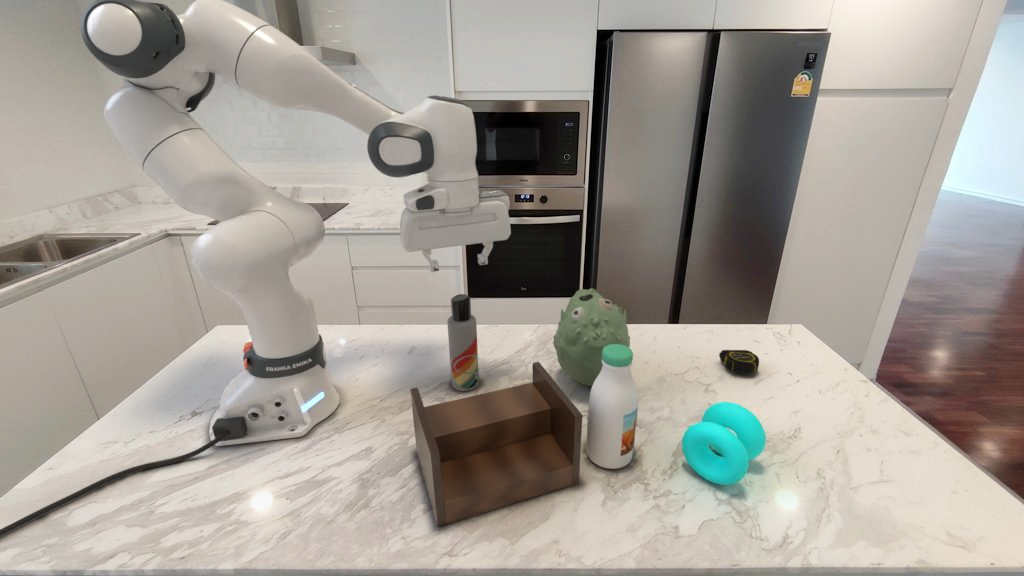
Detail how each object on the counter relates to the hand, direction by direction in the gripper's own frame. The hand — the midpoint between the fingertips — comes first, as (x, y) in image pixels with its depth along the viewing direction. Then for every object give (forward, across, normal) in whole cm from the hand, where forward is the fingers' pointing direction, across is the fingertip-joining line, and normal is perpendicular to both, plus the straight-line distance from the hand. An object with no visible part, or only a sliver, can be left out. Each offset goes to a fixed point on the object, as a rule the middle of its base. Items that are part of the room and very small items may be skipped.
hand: (459, 267), depth 90 cm
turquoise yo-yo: (+27, -32, +38) cm, 56 cm away
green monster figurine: (+26, -25, +8) cm, 37 cm away
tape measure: (+27, -57, +16) cm, 65 cm away
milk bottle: (+26, -17, +29) cm, 43 cm away
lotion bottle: (+26, 0, 0) cm, 26 cm away
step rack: (+26, +2, +25) cm, 36 cm away
